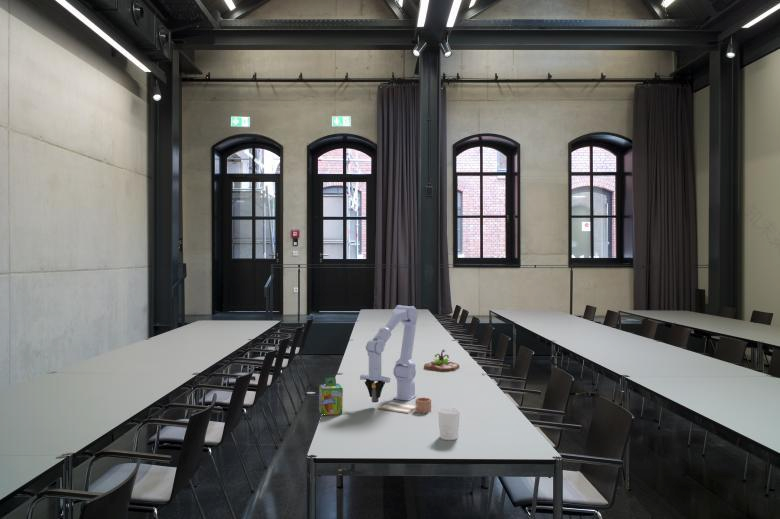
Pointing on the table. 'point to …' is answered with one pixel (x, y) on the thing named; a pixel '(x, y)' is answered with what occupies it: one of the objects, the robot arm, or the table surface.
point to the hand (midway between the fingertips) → (375, 397)
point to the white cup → (449, 423)
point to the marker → (374, 393)
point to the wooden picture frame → (398, 407)
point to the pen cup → (423, 405)
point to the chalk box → (330, 398)
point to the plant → (441, 364)
